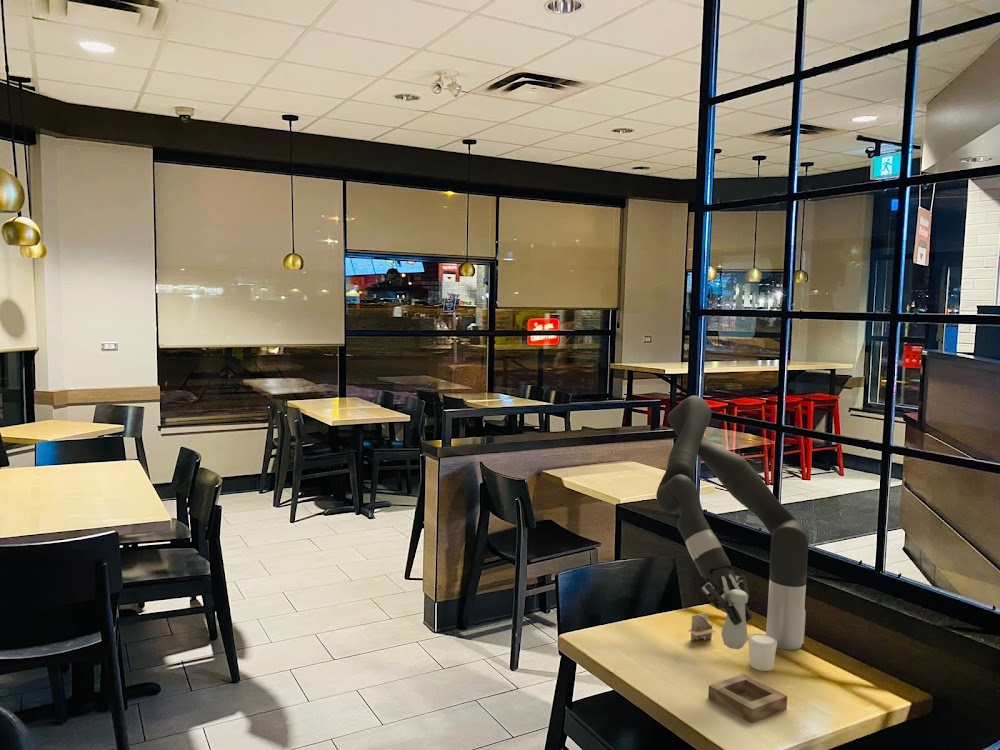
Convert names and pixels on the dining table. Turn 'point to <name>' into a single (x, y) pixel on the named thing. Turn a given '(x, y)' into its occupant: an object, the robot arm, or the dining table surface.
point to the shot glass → (762, 651)
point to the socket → (751, 711)
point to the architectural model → (701, 627)
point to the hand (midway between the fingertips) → (743, 621)
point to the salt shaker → (738, 633)
